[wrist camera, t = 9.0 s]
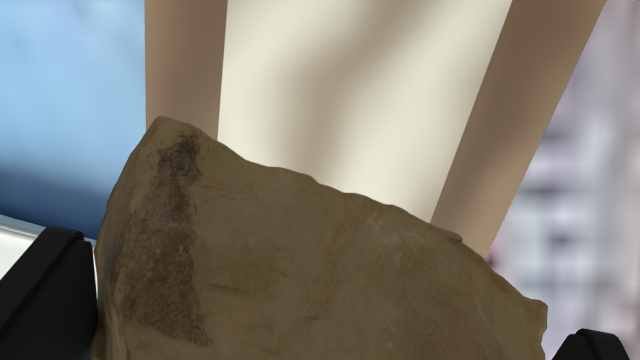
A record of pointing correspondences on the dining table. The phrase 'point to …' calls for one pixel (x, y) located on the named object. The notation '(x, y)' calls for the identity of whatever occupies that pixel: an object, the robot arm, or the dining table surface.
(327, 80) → the stand
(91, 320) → the robot arm
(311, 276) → the rock
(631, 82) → the dining table surface
